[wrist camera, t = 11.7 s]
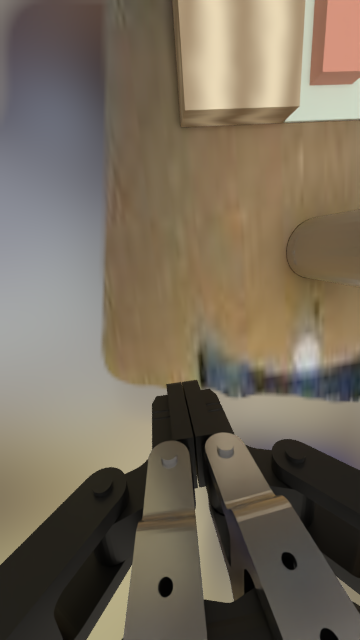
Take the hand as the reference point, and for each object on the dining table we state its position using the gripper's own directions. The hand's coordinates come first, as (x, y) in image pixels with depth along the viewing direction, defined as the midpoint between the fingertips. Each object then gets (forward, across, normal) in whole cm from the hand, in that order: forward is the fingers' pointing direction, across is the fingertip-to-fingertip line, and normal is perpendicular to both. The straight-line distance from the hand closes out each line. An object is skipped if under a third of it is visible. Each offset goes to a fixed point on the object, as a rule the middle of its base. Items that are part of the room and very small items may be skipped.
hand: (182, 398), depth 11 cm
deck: (+27, -12, -30) cm, 42 cm away
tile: (+25, -25, -30) cm, 47 cm away
